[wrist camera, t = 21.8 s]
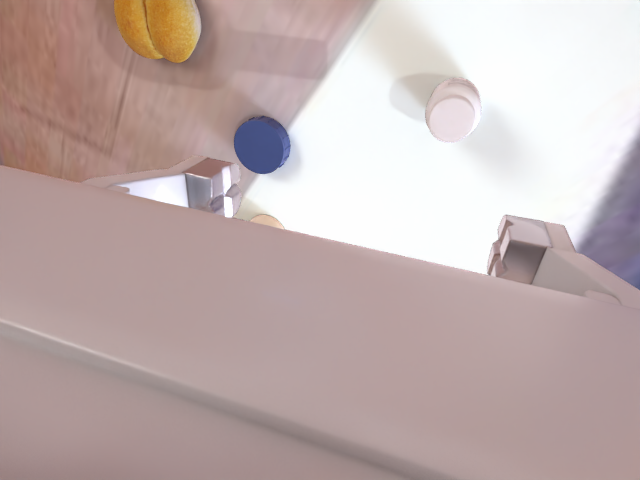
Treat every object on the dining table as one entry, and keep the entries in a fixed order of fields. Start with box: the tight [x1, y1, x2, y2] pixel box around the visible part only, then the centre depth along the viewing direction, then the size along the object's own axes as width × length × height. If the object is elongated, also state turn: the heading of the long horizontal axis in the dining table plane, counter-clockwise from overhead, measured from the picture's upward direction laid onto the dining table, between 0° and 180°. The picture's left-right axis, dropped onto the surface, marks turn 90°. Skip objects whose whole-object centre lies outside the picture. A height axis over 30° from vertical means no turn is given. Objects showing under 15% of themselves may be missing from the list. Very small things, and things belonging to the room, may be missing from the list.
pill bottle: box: [425, 78, 481, 143], centre depth 34 cm, size 4×4×8 cm
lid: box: [234, 116, 290, 174], centre depth 44 cm, size 6×6×2 cm
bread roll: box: [114, 0, 201, 63], centre depth 40 cm, size 8×9×4 cm
